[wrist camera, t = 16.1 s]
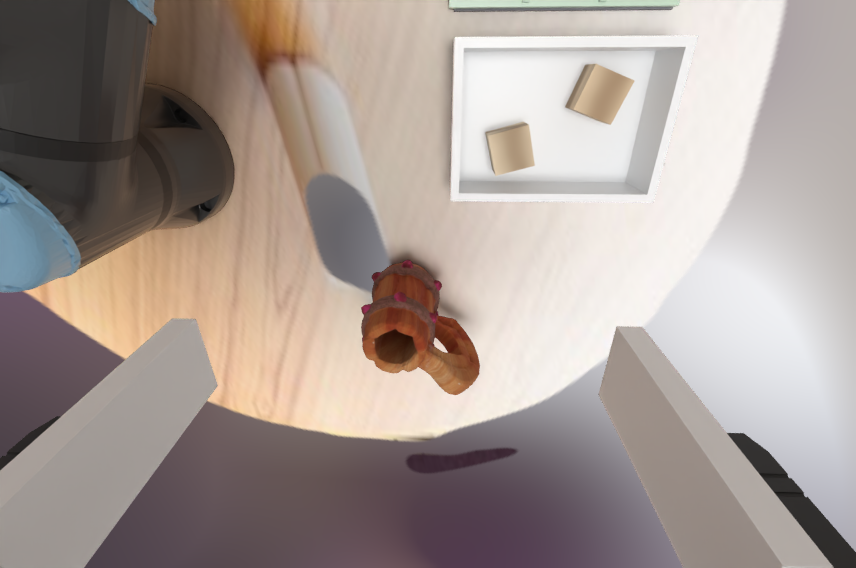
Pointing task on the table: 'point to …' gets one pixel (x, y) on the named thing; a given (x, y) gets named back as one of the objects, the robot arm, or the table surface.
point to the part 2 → (599, 93)
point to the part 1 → (510, 148)
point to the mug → (416, 329)
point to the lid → (558, 3)
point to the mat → (564, 9)
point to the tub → (565, 116)
